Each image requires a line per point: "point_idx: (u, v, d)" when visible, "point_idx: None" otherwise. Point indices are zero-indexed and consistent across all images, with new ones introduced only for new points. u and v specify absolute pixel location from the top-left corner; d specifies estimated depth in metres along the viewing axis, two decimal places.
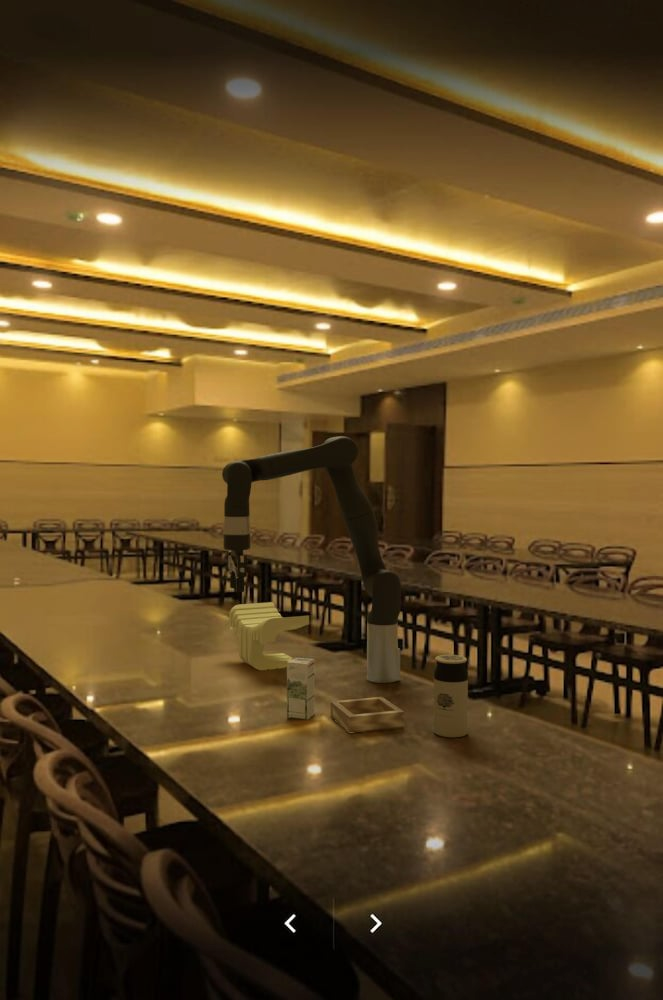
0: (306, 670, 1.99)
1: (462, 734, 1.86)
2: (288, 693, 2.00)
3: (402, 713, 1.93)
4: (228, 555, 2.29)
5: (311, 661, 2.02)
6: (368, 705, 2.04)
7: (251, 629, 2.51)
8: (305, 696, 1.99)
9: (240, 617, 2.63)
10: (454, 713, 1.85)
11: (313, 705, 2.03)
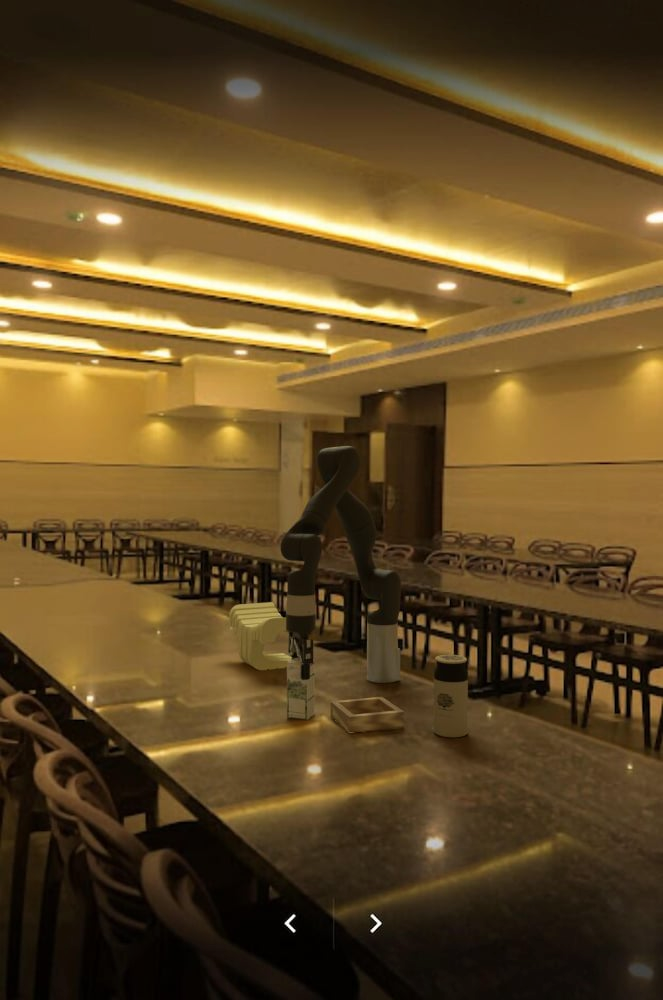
0: None
1: (462, 734, 1.86)
2: (288, 693, 2.00)
3: (402, 713, 1.93)
4: (289, 635, 2.07)
5: None
6: (368, 705, 2.04)
7: (251, 629, 2.51)
8: (305, 696, 1.99)
9: (240, 617, 2.63)
10: (454, 713, 1.85)
11: (313, 705, 2.03)
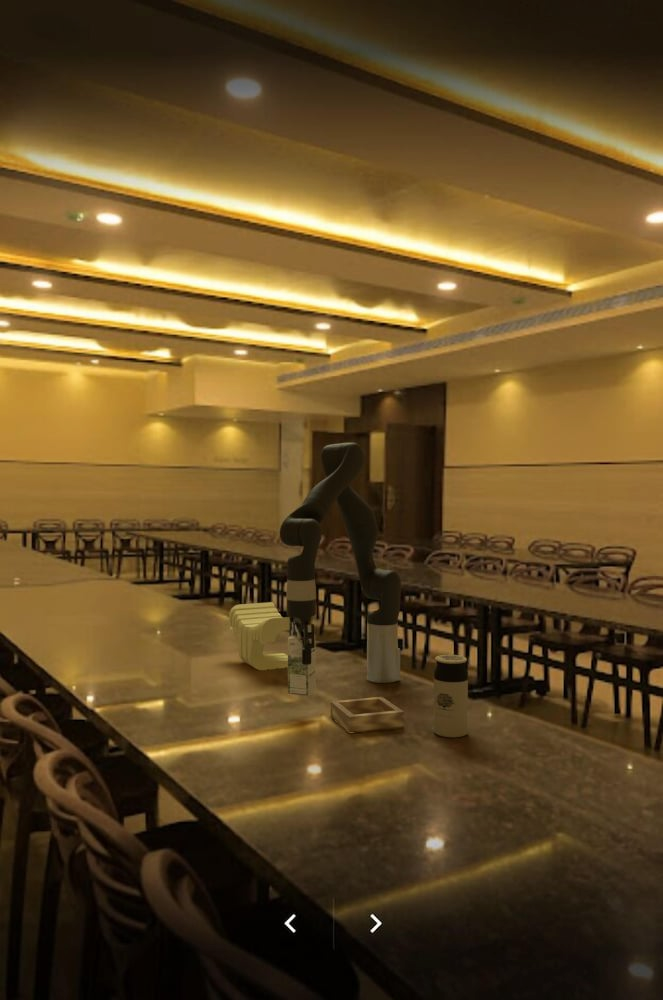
0: None
1: (462, 734, 1.86)
2: (289, 669, 2.00)
3: (402, 713, 1.93)
4: (290, 620, 2.07)
5: None
6: (368, 705, 2.04)
7: (251, 629, 2.51)
8: (306, 672, 1.99)
9: (240, 617, 2.63)
10: (454, 713, 1.85)
11: (314, 681, 2.03)
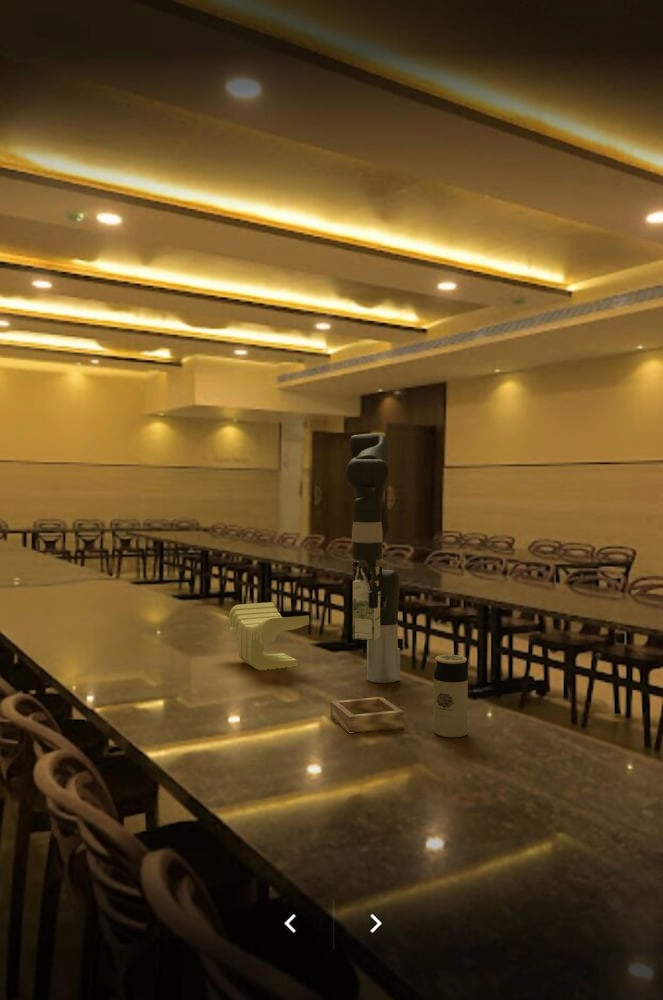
0: None
1: (462, 734, 1.86)
2: (354, 613, 1.95)
3: (402, 713, 1.93)
4: (353, 565, 2.02)
5: None
6: (368, 705, 2.04)
7: (251, 629, 2.51)
8: (372, 616, 1.94)
9: (240, 617, 2.63)
10: (454, 713, 1.85)
11: (379, 627, 1.98)
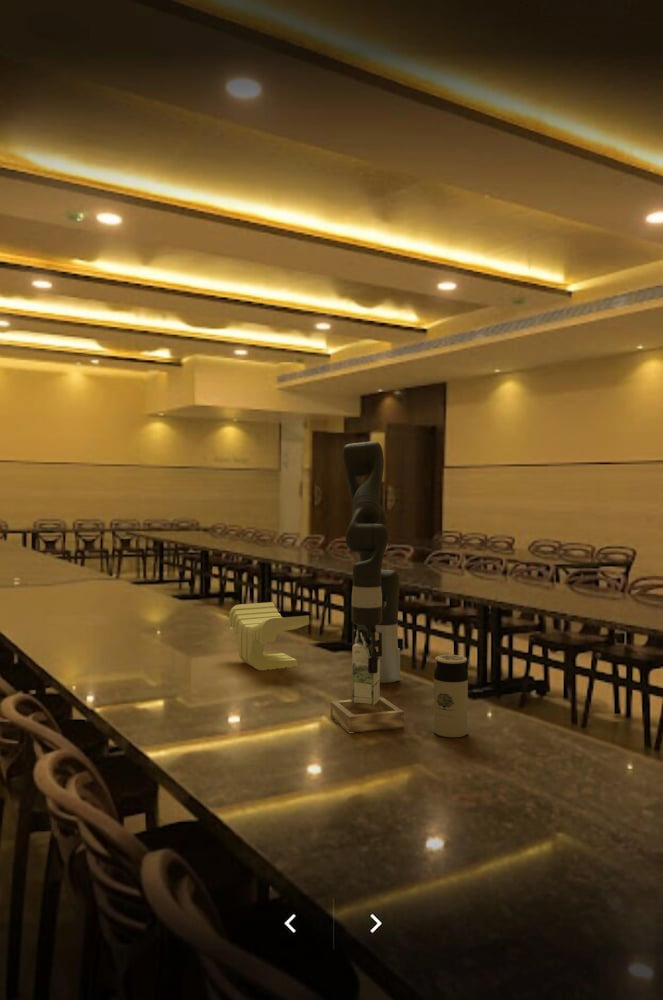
0: None
1: (462, 734, 1.86)
2: (354, 678, 1.95)
3: (402, 713, 1.93)
4: (353, 628, 2.03)
5: None
6: (368, 705, 2.04)
7: (251, 629, 2.51)
8: (372, 681, 1.94)
9: (240, 617, 2.63)
10: (454, 713, 1.85)
11: (378, 690, 1.98)
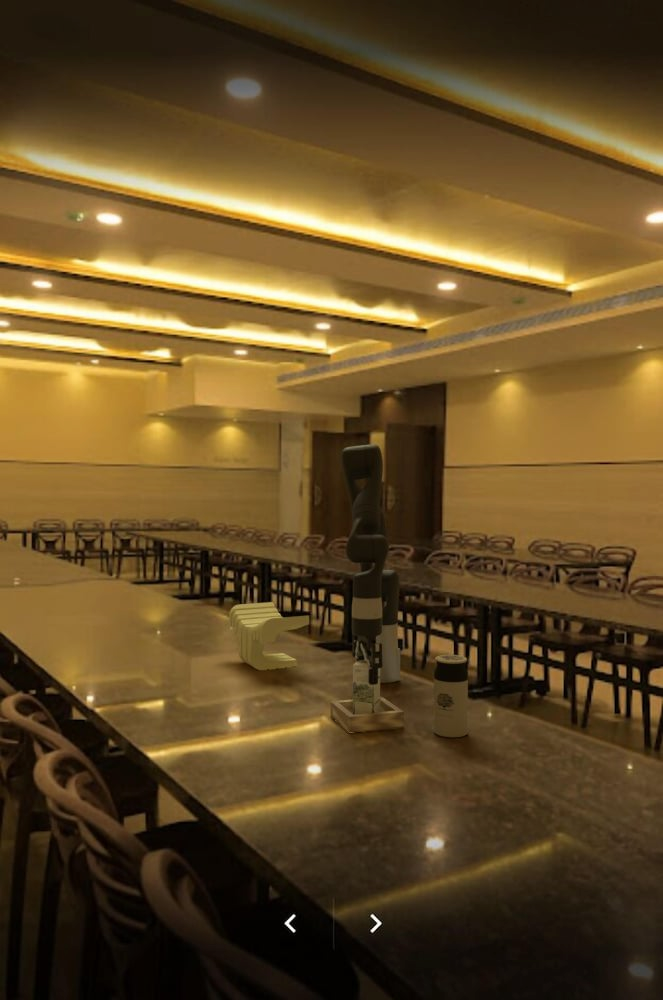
0: None
1: (462, 734, 1.86)
2: (355, 697, 1.95)
3: (402, 713, 1.93)
4: (353, 638, 2.03)
5: None
6: None
7: (251, 629, 2.51)
8: (373, 700, 1.94)
9: (240, 617, 2.63)
10: (454, 713, 1.85)
11: (379, 709, 1.98)
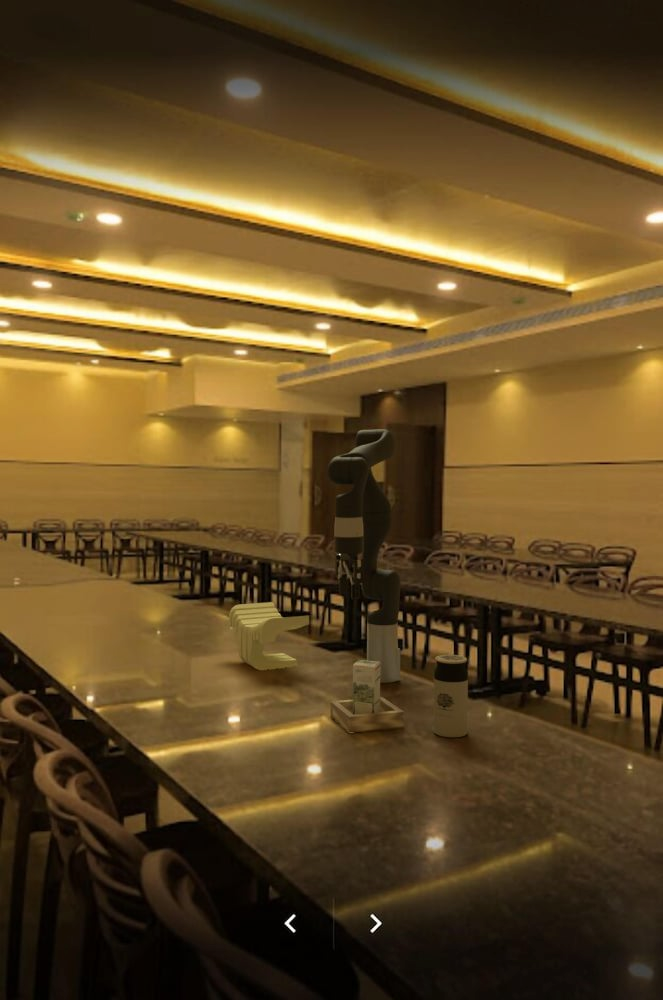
0: (373, 673, 1.94)
1: (462, 734, 1.86)
2: (355, 697, 1.95)
3: (402, 713, 1.93)
4: (336, 558, 2.12)
5: (377, 664, 1.97)
6: None
7: (251, 629, 2.51)
8: (373, 700, 1.94)
9: (240, 617, 2.63)
10: (454, 713, 1.85)
11: (379, 709, 1.98)
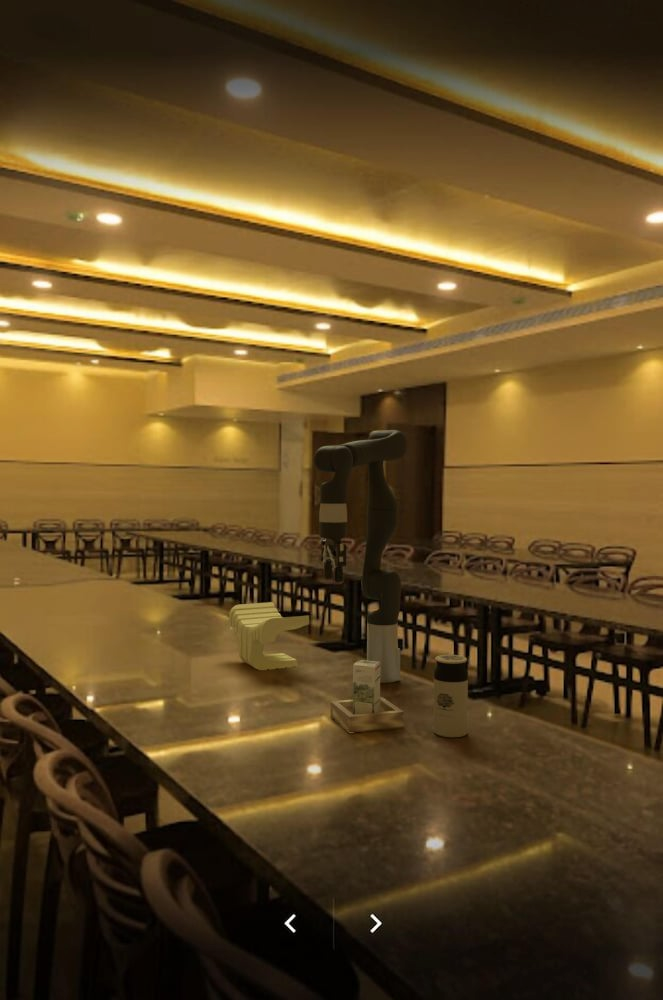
0: (373, 673, 1.94)
1: (462, 734, 1.86)
2: (355, 697, 1.95)
3: (402, 713, 1.93)
4: (321, 544, 2.20)
5: (377, 664, 1.97)
6: None
7: (251, 629, 2.51)
8: (373, 700, 1.94)
9: (240, 617, 2.63)
10: (454, 713, 1.85)
11: (379, 709, 1.98)
